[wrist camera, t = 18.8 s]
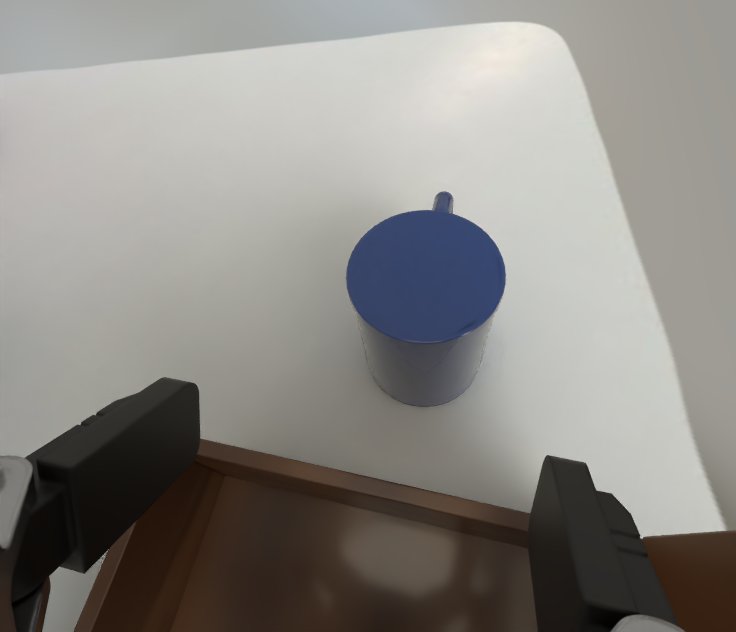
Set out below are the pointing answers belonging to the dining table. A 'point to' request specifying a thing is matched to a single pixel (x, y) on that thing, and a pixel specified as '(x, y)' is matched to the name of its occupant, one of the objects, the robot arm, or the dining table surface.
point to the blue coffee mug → (425, 301)
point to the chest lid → (698, 578)
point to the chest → (311, 556)
